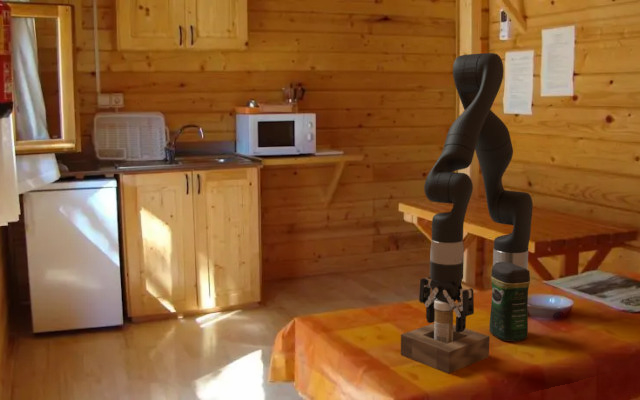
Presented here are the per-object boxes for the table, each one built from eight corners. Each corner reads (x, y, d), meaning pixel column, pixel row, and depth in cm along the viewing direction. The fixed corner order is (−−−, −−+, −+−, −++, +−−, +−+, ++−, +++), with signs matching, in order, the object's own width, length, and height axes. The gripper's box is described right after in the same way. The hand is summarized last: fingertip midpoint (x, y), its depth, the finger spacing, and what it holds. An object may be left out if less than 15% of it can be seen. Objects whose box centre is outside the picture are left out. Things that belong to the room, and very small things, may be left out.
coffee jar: (533, 340, 179) (536, 267, 175) (504, 344, 176) (507, 270, 173) (511, 327, 188) (514, 257, 184) (484, 331, 185) (486, 260, 182)
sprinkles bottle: (456, 355, 170) (458, 299, 168) (445, 360, 167) (446, 304, 164) (440, 349, 173) (441, 295, 171) (429, 355, 170) (430, 300, 168)
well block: (441, 339, 180) (441, 320, 179) (488, 356, 169) (489, 336, 168) (400, 354, 170) (400, 334, 169) (448, 373, 160) (449, 352, 159)
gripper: (482, 262, 162) (480, 331, 165) (433, 250, 173) (432, 315, 176) (461, 268, 158) (459, 339, 161) (412, 255, 168) (411, 322, 171)
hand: (445, 326), depth 168 cm, fingers open, 8 cm apart
